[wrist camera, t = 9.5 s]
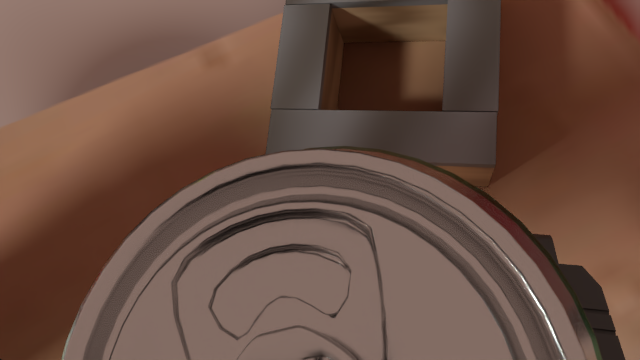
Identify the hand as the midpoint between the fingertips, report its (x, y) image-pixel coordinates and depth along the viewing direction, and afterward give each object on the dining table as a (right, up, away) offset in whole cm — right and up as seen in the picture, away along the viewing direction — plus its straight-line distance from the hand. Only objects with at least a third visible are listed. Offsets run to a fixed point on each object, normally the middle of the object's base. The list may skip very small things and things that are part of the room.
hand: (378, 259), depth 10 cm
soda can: (+1, -3, +5) cm, 6 cm away
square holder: (+3, +7, +22) cm, 24 cm away
